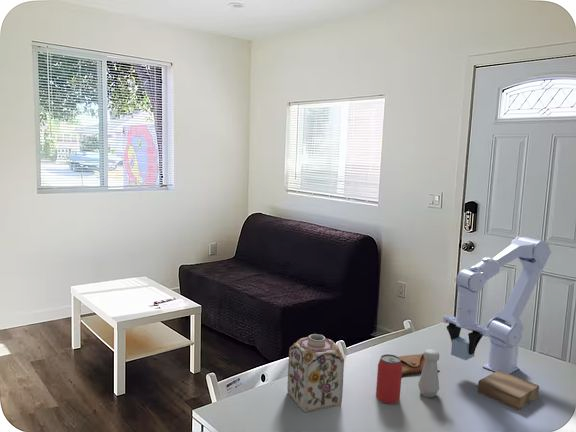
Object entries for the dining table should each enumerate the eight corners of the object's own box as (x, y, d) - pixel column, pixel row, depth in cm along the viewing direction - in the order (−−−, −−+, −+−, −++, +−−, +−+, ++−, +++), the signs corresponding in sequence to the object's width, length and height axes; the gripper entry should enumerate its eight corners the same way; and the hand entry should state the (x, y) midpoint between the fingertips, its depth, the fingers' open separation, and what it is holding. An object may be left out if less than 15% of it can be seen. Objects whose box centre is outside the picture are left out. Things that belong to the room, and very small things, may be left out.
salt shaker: (439, 400, 136) (443, 356, 134) (418, 397, 137) (422, 353, 135) (437, 390, 142) (441, 348, 140) (417, 387, 143) (420, 345, 141)
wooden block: (497, 382, 149) (498, 370, 148) (537, 398, 140) (539, 385, 139) (477, 393, 141) (478, 380, 141) (518, 411, 132) (519, 397, 132)
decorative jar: (286, 392, 137) (288, 331, 134) (322, 385, 141) (325, 326, 139) (304, 414, 126) (307, 348, 124) (343, 406, 131) (346, 342, 128)
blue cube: (459, 350, 155) (461, 335, 154) (474, 356, 151) (475, 341, 150) (451, 354, 151) (452, 339, 151) (465, 360, 148) (467, 344, 147)
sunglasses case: (393, 378, 147) (389, 356, 150) (382, 380, 154) (378, 359, 156) (442, 371, 154) (436, 350, 156) (429, 373, 160) (424, 353, 162)
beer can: (385, 407, 131) (388, 365, 129) (370, 395, 137) (373, 355, 135) (404, 402, 134) (407, 361, 132) (389, 391, 140) (392, 351, 138)
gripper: (439, 304, 152) (435, 345, 154) (482, 318, 141) (478, 362, 143) (451, 300, 156) (448, 340, 158) (494, 313, 145) (490, 356, 147)
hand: (463, 350), depth 151 cm, fingers closed on blue cube, 5 cm apart
